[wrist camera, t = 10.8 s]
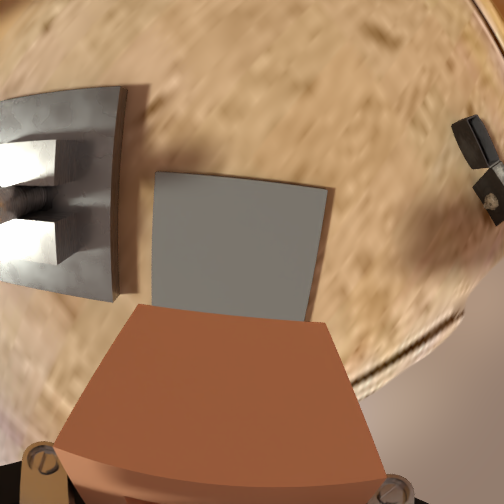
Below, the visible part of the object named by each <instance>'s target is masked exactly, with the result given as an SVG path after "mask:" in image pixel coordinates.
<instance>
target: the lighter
mask: <svg viewBox="0 0 504 504" xmlns="http://www.w3.org/2000/svg"><path fill="white" fill-rule="evenodd" d="M451 127H452V130H453V133H454V136H455V139H456V141H457V143H458V145H459V148H460V150H461V151H462V153H463V155H464V157H465V159H466V161H467V162H468V164H469V165H470V167H471V168H472V169H480V168H489V169H488V170H487V172H486V173H485V174H484V175H483V176H482V177H481V178H480V179H479V180H478V182H477V183H476V184H475V185H474V186H473V189H474V191H475V192H476V194H477V195H478V197H479V198H480V200H481V202H482V203H483V205H484V208H485V209H486V210H487V211H488V213H489V215H490V217H491V218H492V220H493V222H494V223H495V225H496V226H498V225H499V224H500V223H501V222H503V221H504V164H503V163H502V162H501V161H500V160H499V157H498V154H497V152H496V150H495V147H494V145H493V143H492V141H491V138H490V136H489V134H488V132H487V130H486V128H485V126H484V124H483V122H482V121H481V119H480V118H479V117H478V115H473V116H470V117H467V118H464V119H461V120H459V121H458V122H456V123H454V124H452V126H451Z"/></svg>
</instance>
